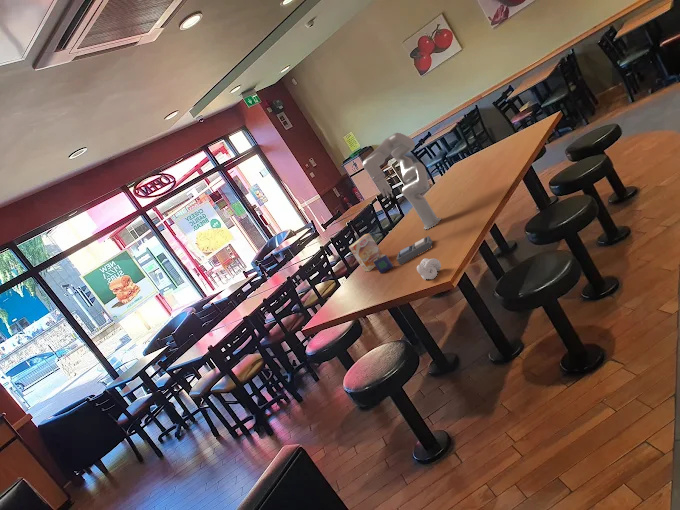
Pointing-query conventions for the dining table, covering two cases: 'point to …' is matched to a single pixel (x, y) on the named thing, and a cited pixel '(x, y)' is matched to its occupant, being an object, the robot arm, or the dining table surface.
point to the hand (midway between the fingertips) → (395, 203)
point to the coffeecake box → (366, 251)
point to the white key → (420, 243)
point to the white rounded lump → (429, 268)
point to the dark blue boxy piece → (383, 263)
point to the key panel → (414, 251)
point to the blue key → (405, 251)
